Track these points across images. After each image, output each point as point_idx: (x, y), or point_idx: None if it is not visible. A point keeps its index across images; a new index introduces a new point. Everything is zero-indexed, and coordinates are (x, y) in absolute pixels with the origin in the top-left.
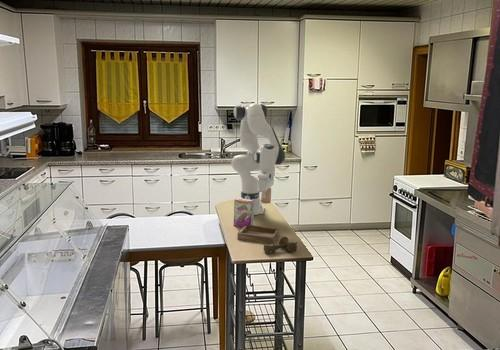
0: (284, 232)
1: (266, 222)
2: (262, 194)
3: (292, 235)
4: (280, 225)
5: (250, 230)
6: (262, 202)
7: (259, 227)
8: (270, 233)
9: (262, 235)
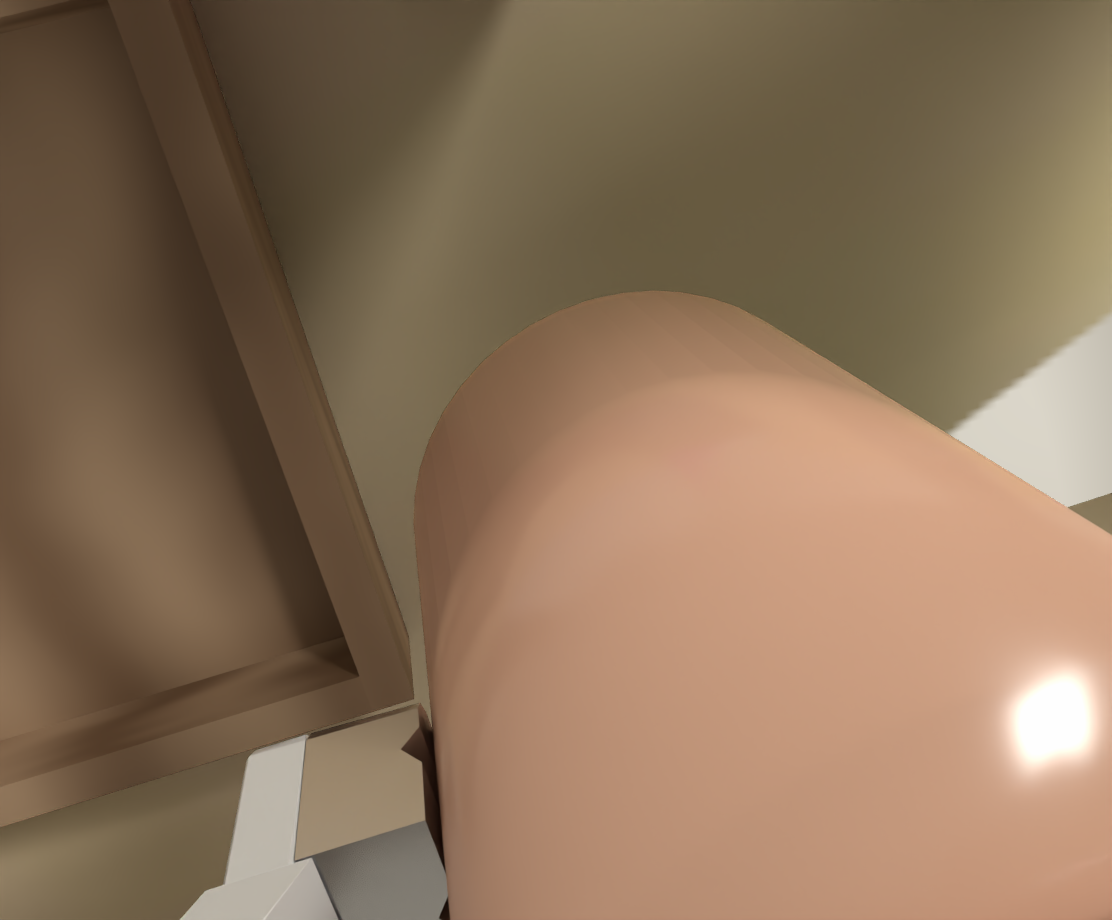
0: None
1: (922, 59)
2: (462, 677)
3: None
4: None
5: (120, 104)
6: (418, 476)
7: (227, 310)
8: (265, 550)
9: (44, 494)
